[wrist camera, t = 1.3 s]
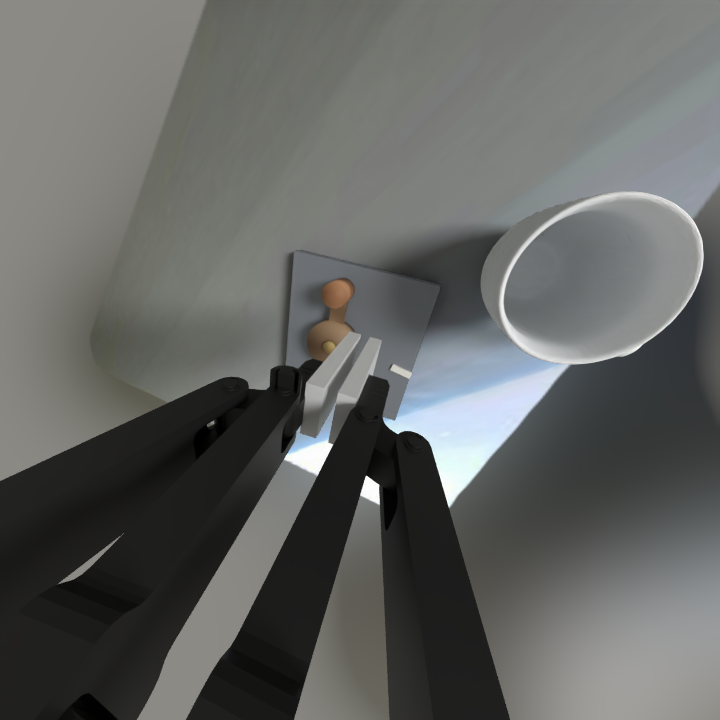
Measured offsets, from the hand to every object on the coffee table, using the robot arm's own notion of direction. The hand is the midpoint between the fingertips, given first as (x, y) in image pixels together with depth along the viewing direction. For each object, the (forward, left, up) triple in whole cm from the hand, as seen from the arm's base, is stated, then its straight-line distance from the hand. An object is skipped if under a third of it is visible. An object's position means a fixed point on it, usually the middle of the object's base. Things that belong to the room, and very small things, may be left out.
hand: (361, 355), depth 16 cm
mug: (-6, +14, -19) cm, 24 cm away
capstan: (+7, -6, -16) cm, 19 cm away
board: (+7, -4, -18) cm, 20 cm away
